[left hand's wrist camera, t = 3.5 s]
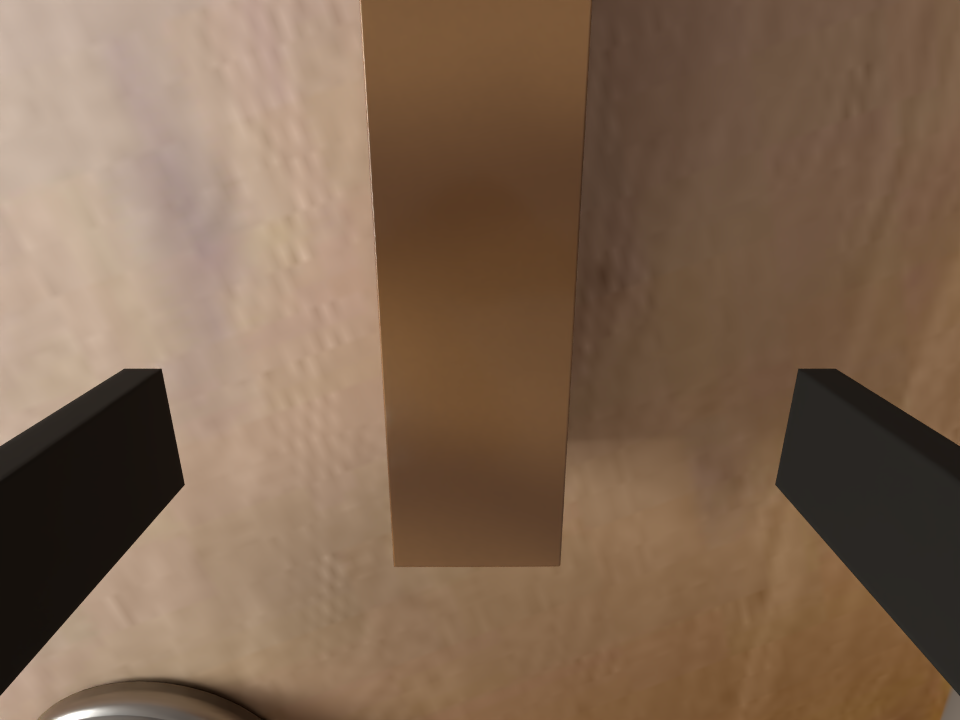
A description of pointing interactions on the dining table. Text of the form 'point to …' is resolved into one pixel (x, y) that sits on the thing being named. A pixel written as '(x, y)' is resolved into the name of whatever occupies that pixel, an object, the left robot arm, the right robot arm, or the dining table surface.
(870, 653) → the dining table surface
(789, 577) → the dining table surface
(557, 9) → the beam
